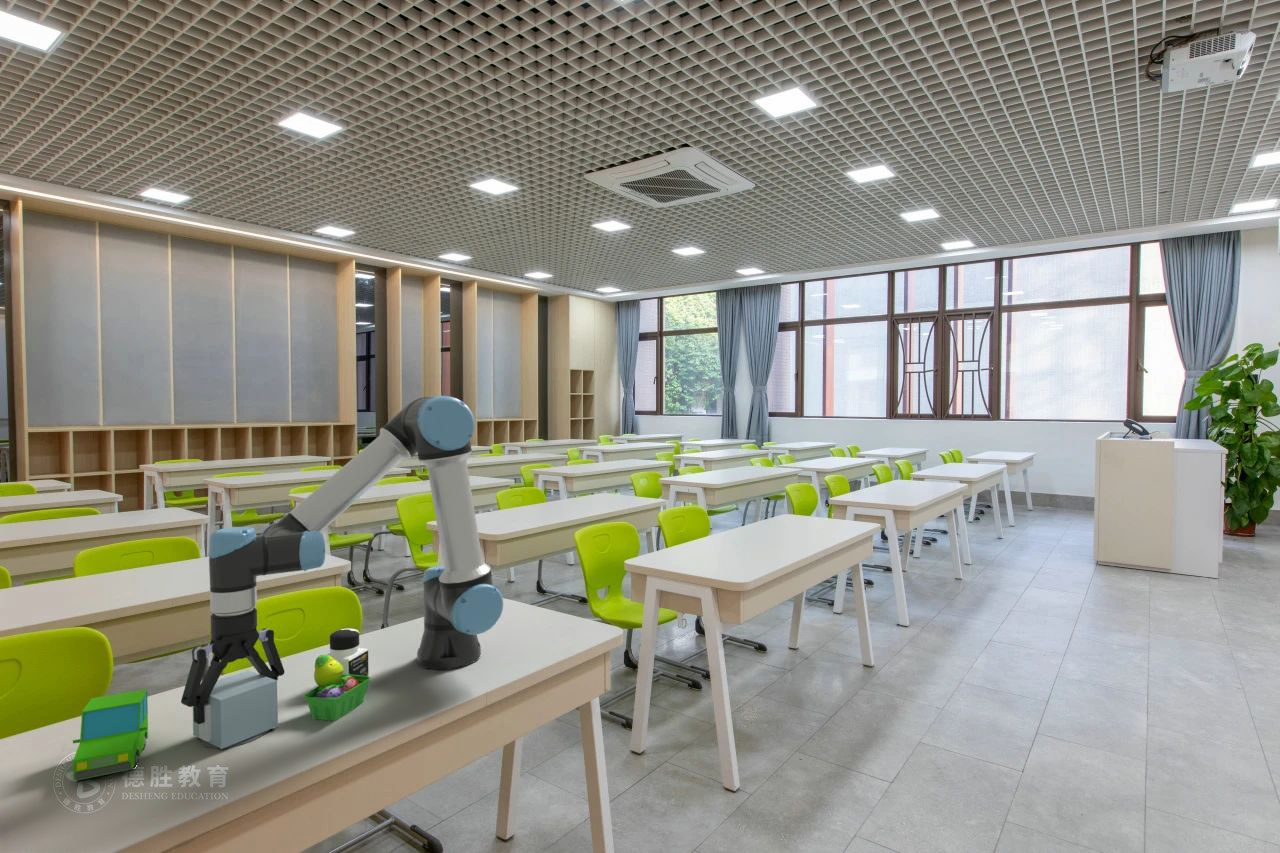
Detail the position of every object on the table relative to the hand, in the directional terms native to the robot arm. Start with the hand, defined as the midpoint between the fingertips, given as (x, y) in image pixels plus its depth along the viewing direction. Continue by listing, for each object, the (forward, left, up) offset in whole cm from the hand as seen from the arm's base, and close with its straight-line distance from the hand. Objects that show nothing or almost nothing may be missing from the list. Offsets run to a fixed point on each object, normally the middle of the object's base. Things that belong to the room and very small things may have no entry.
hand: (236, 726), depth 126 cm
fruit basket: (-7, -16, -2) cm, 18 cm away
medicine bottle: (+3, -25, -1) cm, 25 cm away
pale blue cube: (0, 0, -1) cm, 1 cm away
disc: (0, 0, -1) cm, 1 cm away
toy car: (+7, +17, -2) cm, 18 cm away
